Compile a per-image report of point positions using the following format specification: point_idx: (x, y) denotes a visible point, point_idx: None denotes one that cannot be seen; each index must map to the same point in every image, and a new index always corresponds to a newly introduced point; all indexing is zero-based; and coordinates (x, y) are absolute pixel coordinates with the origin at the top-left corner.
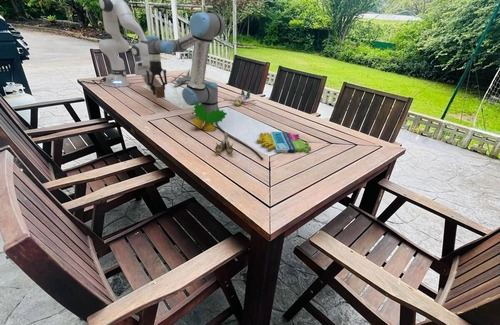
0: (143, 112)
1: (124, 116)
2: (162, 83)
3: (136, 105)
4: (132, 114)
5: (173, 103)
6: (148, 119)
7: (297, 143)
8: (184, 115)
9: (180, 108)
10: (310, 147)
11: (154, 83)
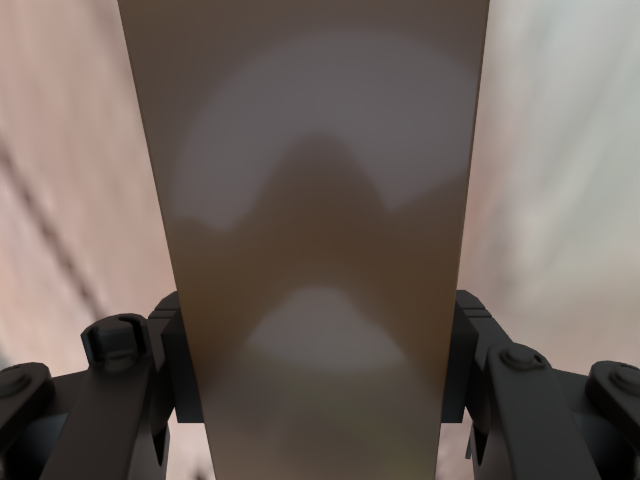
0: (153, 305)
1: (9, 360)
2: (492, 390)
3: (49, 43)
4: (64, 331)
5: (514, 72)
6: (197, 448)
7: None
8: (465, 437)
9: (509, 278)
10: None
11: (235, 224)
